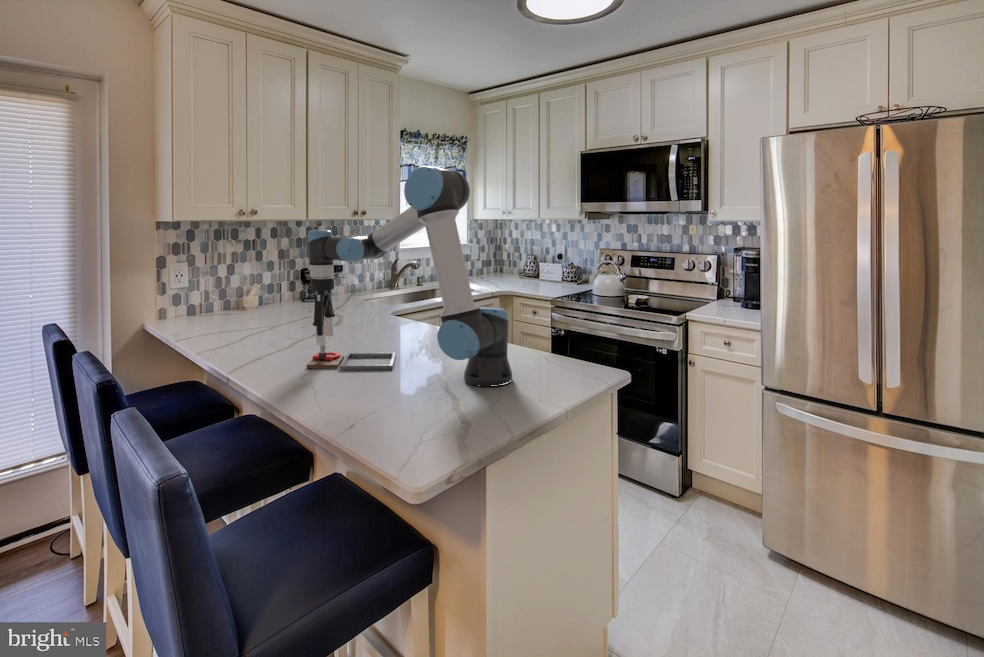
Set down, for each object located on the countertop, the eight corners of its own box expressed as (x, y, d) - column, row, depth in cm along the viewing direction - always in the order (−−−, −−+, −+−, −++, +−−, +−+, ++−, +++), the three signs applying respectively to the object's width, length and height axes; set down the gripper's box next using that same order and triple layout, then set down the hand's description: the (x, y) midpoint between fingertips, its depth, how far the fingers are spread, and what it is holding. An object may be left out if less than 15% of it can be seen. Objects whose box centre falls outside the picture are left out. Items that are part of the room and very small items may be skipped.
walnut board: (337, 368, 172) (337, 364, 172) (306, 368, 171) (306, 365, 171) (343, 358, 184) (343, 355, 184) (314, 359, 183) (314, 355, 183)
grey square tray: (392, 369, 172) (392, 365, 172) (339, 370, 170) (339, 366, 170) (395, 356, 188) (395, 352, 188) (347, 357, 187) (347, 352, 186)
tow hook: (321, 354, 186) (309, 360, 177) (320, 318, 184) (308, 322, 175) (344, 356, 185) (333, 361, 176) (343, 320, 183) (332, 323, 174)
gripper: (318, 273, 183) (321, 332, 188) (301, 281, 159) (305, 349, 163) (340, 273, 184) (342, 332, 188) (326, 281, 160) (329, 348, 164)
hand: (325, 340), depth 176 cm, fingers open, 13 cm apart
